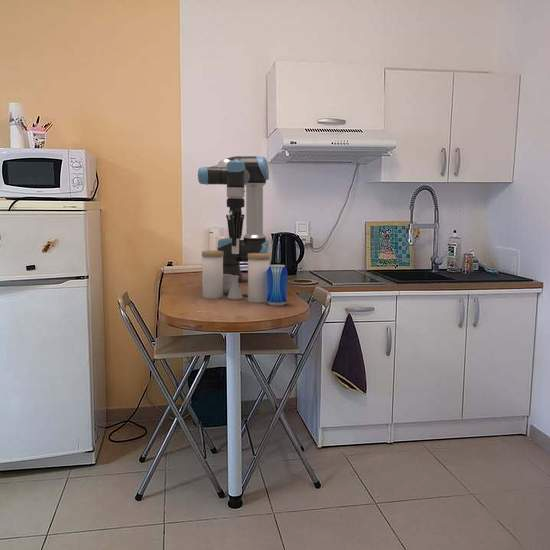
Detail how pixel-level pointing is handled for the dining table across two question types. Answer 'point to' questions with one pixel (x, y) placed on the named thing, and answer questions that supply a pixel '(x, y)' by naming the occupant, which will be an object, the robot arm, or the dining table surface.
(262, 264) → the canister right
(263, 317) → the dining table surface
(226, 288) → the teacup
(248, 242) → the robot arm
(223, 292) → the kettle cord
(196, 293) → the dining table surface
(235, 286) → the flask
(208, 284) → the canister left
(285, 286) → the beer can
